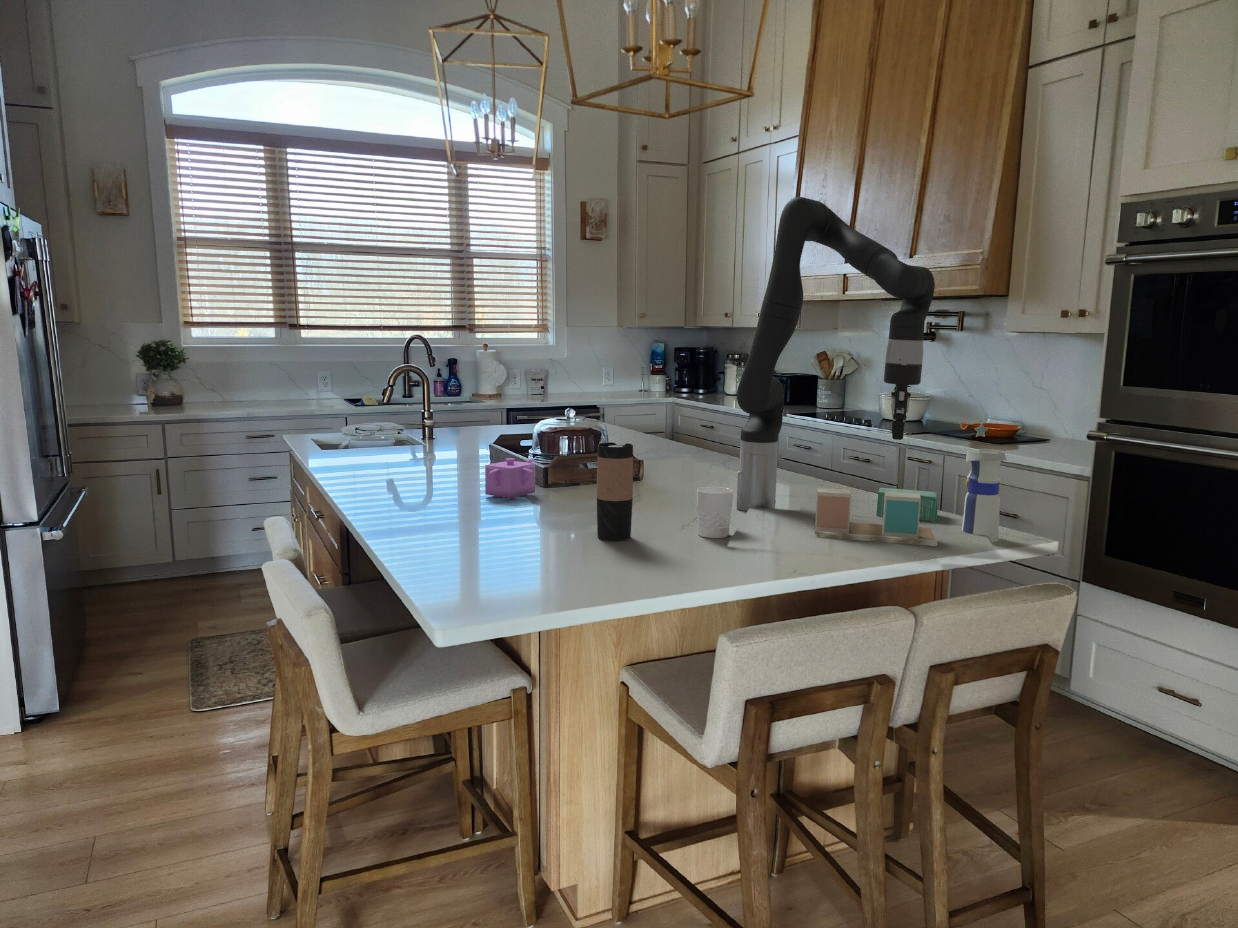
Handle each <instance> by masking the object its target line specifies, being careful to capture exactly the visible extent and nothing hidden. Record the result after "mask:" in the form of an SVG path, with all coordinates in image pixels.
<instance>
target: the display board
mask: <svg viewBox="0 0 1238 928" xmlns="http://www.w3.org/2000/svg"><path fill="white" fill-rule="evenodd" d="M882 528H883V523H867V522H854V521H853V522H851V521H849V534H848V533H834V532H820V531H817V533H816V537H817V538H823V539H835V540H851V541H863V542H864V541H869V542H876V543H877V542H880V543H890V544H901V545H918V546H919V545H920V546H932V547H937V546H938V542H939V541H938V540H937V539H935V536H934V534H933V531H932V529H931V527H925V526H924V527H921V526H919V531H918V539H915V538H902V537H888V536H882Z"/></svg>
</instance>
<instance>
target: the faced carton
mask: <svg viewBox="0 0 1238 928" xmlns="http://www.w3.org/2000/svg"><path fill="white" fill-rule="evenodd" d="M851 498H852V489H848V488H847V489H842V488H827V487H818V488H817V490H816V502H815V503H816V507H815V526H814V534H817V531H820V532H834V533H848V534H849V522H851V521H850V519H851V518H850V517H851V503H852V501H851V500H852V499H851Z"/></svg>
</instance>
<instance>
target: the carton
mask: <svg viewBox="0 0 1238 928" xmlns="http://www.w3.org/2000/svg"><path fill="white" fill-rule="evenodd" d="M920 503H921V497H920V494H913V493H897V492H885V497H884V513H883V517H882V524H883V528H882V536H888V537H902V538H915V539H918V531H919V527H920V520H919V517H920Z"/></svg>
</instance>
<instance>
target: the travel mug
mask: <svg viewBox="0 0 1238 928" xmlns="http://www.w3.org/2000/svg"><path fill="white" fill-rule="evenodd" d="M596 460H597V466H596V469H597V470H596V524H597V525H596V528H597V529H596V531H597V538H598V539H599V540H602V541H608V542H621V541H622V542H623V541H627V540H630V539H631V536H632V535H631V534H632V516H633V514H632V513H633V500H634V499H633V495H634V493H633V492H634V491H633V490H634V488H633V487H634V486H633V485H634V484H633V483H634V480H633V479H634V464H633V463H634V445H633V444H632V443H628V442H627V443H625V444H622V445H621V444H620V445H619V444H617V443H616V442H600V443H597V459H596Z"/></svg>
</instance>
